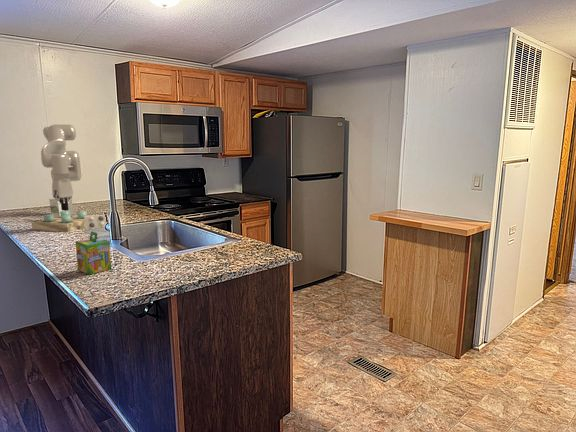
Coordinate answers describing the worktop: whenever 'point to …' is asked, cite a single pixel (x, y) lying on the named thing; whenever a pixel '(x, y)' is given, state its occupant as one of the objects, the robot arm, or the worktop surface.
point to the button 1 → (48, 218)
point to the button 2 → (64, 213)
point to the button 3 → (66, 219)
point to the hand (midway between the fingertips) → (65, 210)
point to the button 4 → (81, 215)
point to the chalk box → (93, 255)
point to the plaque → (95, 221)
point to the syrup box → (55, 207)
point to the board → (59, 224)
